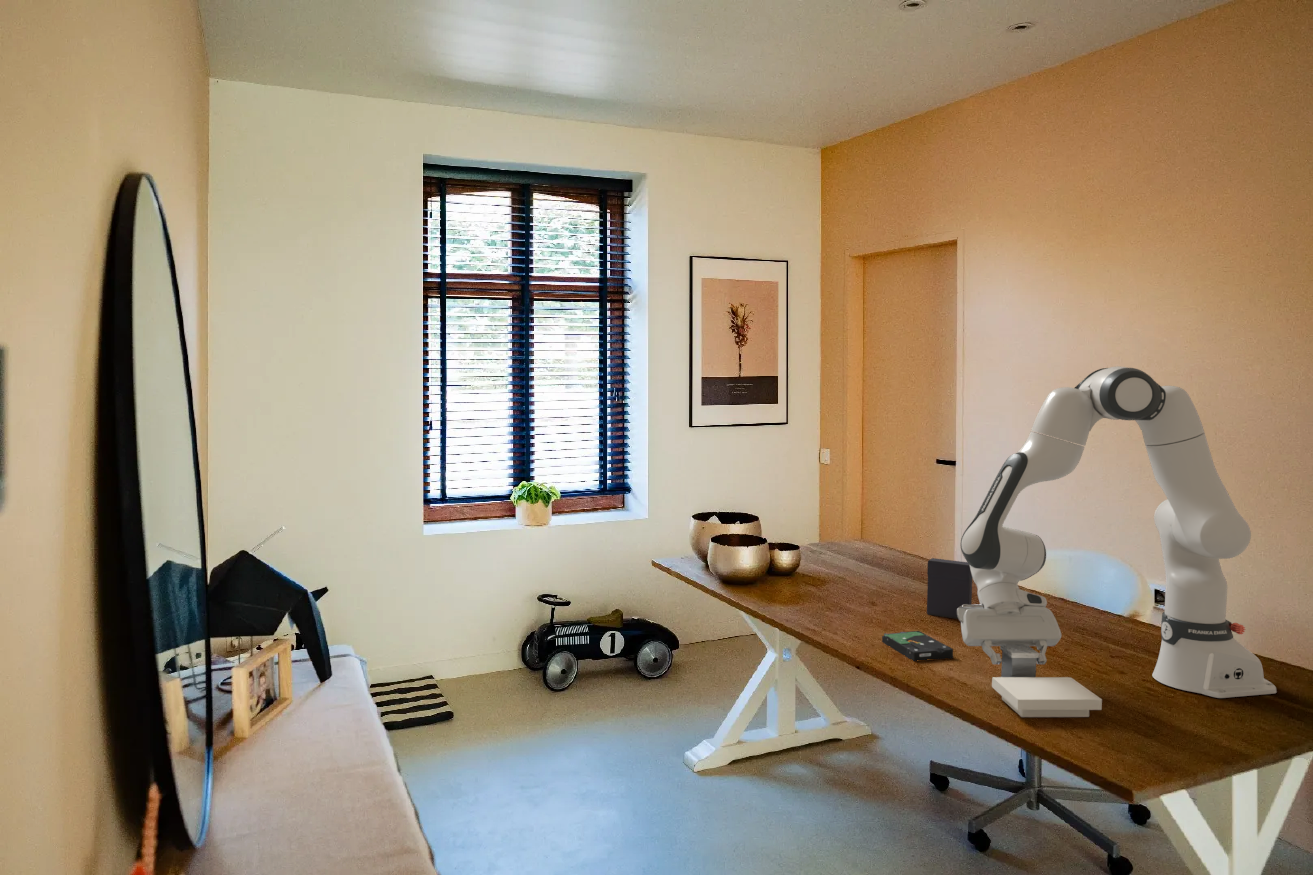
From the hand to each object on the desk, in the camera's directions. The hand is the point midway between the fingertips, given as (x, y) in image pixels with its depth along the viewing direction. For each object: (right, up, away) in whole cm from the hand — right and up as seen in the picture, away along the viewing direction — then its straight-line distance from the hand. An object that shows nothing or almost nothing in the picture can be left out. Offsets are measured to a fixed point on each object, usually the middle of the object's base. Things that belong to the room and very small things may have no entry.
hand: (1019, 663), depth 183 cm
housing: (0, -5, +1) cm, 5 cm away
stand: (0, -6, -11) cm, 13 cm away
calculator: (+3, -1, +53) cm, 53 cm away
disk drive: (-14, -4, +24) cm, 29 cm away
